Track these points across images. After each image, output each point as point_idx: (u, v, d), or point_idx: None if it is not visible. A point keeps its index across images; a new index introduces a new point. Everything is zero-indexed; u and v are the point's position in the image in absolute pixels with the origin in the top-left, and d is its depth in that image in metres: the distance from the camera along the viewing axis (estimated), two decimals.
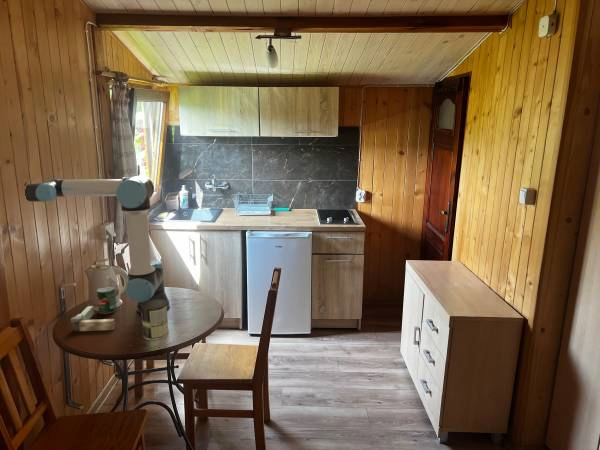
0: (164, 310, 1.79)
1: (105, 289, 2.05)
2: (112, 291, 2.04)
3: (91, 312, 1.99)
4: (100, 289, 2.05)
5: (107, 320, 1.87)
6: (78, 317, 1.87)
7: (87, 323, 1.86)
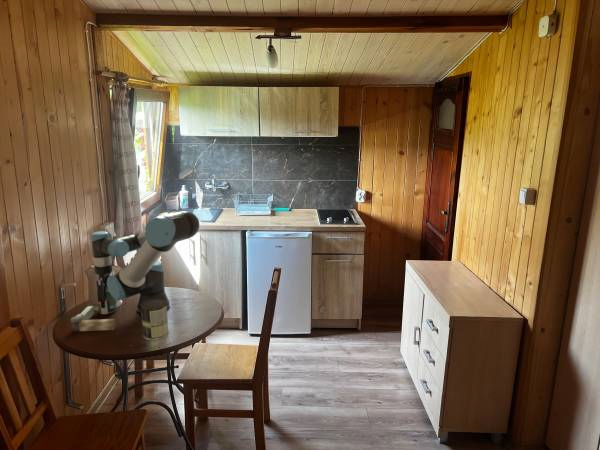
0: (164, 310, 1.79)
1: None
2: None
3: (91, 312, 1.99)
4: None
5: (107, 320, 1.87)
6: (78, 317, 1.87)
7: (87, 323, 1.86)
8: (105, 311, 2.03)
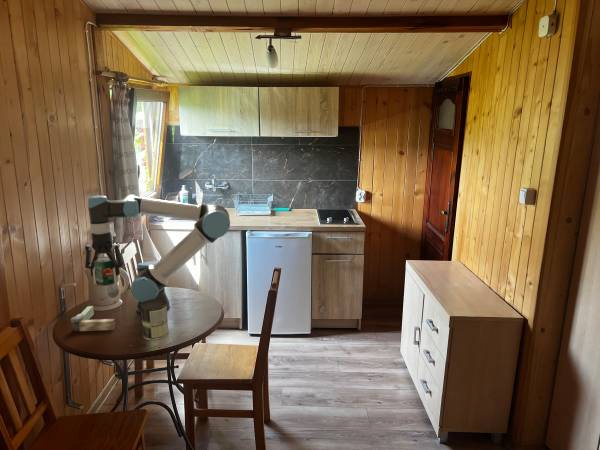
0: (164, 310, 1.79)
1: (103, 259, 1.88)
2: (97, 263, 1.84)
3: (91, 312, 1.99)
4: (106, 257, 1.90)
5: (107, 320, 1.87)
6: (78, 317, 1.87)
7: (87, 323, 1.86)
8: None
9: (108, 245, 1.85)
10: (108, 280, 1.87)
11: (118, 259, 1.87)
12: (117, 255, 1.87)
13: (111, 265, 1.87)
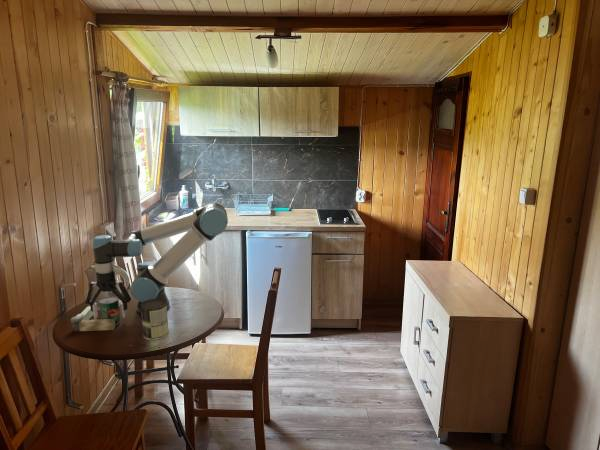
0: (164, 310, 1.79)
1: (108, 300, 1.92)
2: (102, 304, 1.89)
3: (91, 312, 1.99)
4: (110, 298, 1.94)
5: (107, 320, 1.87)
6: (78, 317, 1.87)
7: (87, 323, 1.86)
8: None
9: (112, 283, 1.89)
10: None
11: (125, 295, 1.91)
12: (123, 291, 1.90)
13: (116, 306, 1.91)
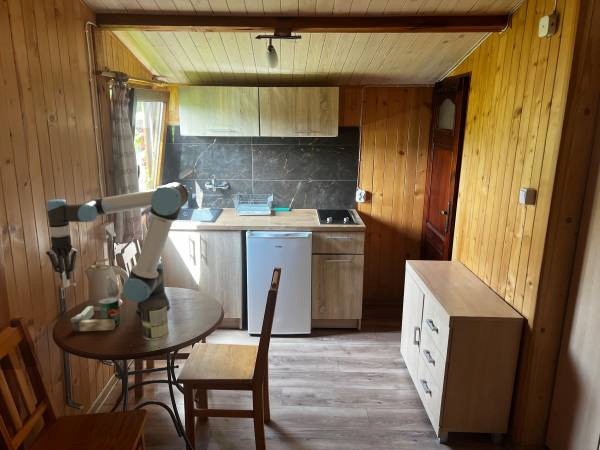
0: (164, 310, 1.79)
1: (108, 300, 1.92)
2: (102, 304, 1.89)
3: (91, 312, 1.99)
4: (110, 298, 1.94)
5: (107, 320, 1.87)
6: (78, 317, 1.87)
7: (87, 323, 1.86)
8: None
9: (67, 248, 1.89)
10: None
11: (71, 264, 1.90)
12: (72, 260, 1.90)
13: (116, 306, 1.91)
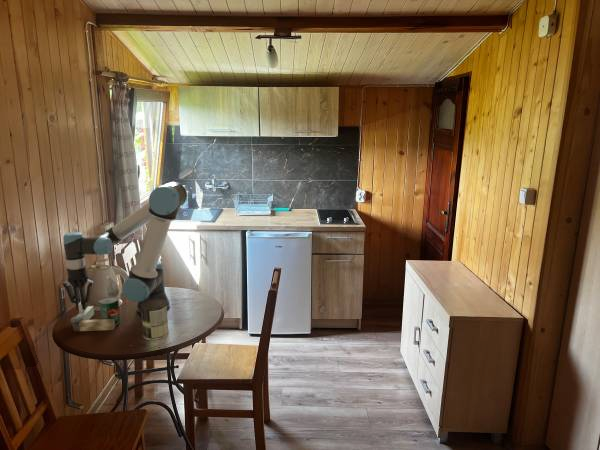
0: (164, 310, 1.79)
1: (108, 300, 1.92)
2: (102, 304, 1.89)
3: (91, 312, 1.99)
4: (110, 298, 1.94)
5: (107, 320, 1.87)
6: (78, 317, 1.87)
7: (87, 323, 1.86)
8: None
9: (83, 279, 1.92)
10: None
11: (87, 295, 1.94)
12: (88, 291, 1.94)
13: (116, 306, 1.91)
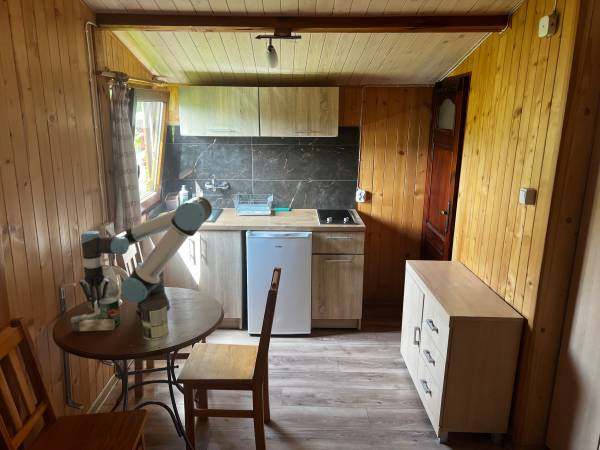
0: (164, 310, 1.79)
1: (108, 300, 1.92)
2: (102, 304, 1.89)
3: None
4: (110, 298, 1.94)
5: (107, 320, 1.87)
6: (78, 318, 1.86)
7: (87, 323, 1.86)
8: None
9: (100, 278, 1.93)
10: None
11: (103, 293, 1.94)
12: (104, 290, 1.94)
13: (116, 306, 1.91)
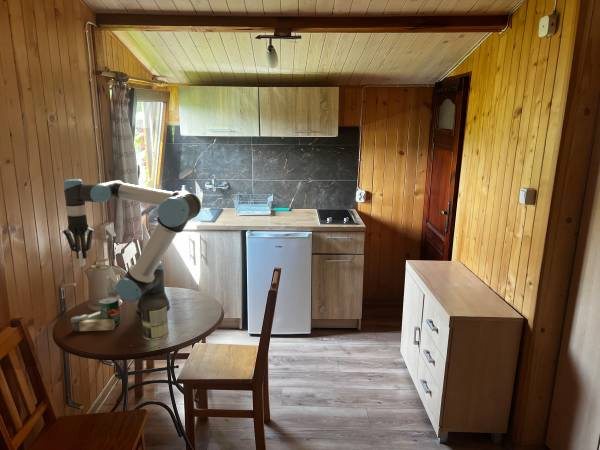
0: (164, 310, 1.79)
1: (108, 300, 1.92)
2: (102, 304, 1.89)
3: None
4: (110, 298, 1.94)
5: (107, 320, 1.87)
6: (78, 318, 1.86)
7: (87, 323, 1.86)
8: None
9: (84, 227, 1.92)
10: None
11: (87, 243, 1.93)
12: (88, 239, 1.93)
13: (116, 306, 1.91)
